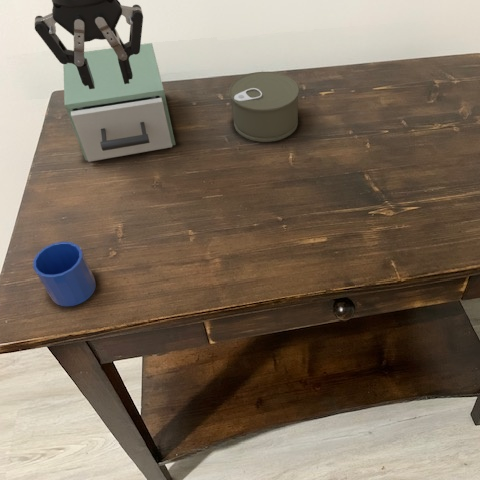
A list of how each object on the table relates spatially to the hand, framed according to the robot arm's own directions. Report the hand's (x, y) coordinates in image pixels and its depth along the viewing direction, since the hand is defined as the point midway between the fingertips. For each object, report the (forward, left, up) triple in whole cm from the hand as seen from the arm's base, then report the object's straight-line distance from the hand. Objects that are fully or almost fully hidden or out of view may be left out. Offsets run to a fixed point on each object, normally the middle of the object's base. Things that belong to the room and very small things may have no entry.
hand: (109, 83), depth 77 cm
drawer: (0, +7, -14) cm, 16 cm away
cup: (-10, -24, -15) cm, 30 cm away
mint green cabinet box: (0, +11, -15) cm, 19 cm away
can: (+24, +5, -15) cm, 29 cm away
